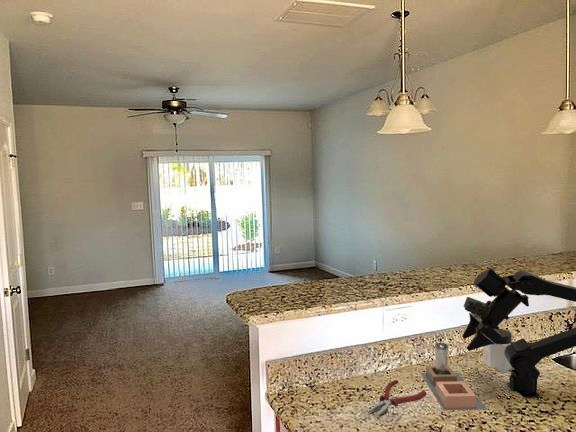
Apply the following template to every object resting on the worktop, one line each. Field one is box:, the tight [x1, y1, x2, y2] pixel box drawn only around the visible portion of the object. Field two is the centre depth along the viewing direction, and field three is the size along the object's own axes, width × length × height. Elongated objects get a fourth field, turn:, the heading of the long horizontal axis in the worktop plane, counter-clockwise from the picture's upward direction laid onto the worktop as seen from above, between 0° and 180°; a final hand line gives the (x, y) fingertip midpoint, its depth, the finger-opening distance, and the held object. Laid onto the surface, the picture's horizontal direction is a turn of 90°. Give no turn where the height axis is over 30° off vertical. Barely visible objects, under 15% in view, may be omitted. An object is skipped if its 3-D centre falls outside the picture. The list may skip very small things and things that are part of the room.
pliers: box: [367, 379, 428, 417], centre depth 127 cm, size 12×20×3 cm, turn 134°
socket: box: [436, 380, 477, 409], centre depth 125 cm, size 8×8×4 cm
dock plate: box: [420, 365, 488, 411], centre depth 131 cm, size 12×22×4 cm, turn 179°
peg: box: [434, 342, 449, 375], centre depth 137 cm, size 4×4×12 cm
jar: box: [482, 328, 513, 373], centre depth 147 cm, size 9×8×12 cm
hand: (465, 343), depth 134 cm, fingers open, 9 cm apart
